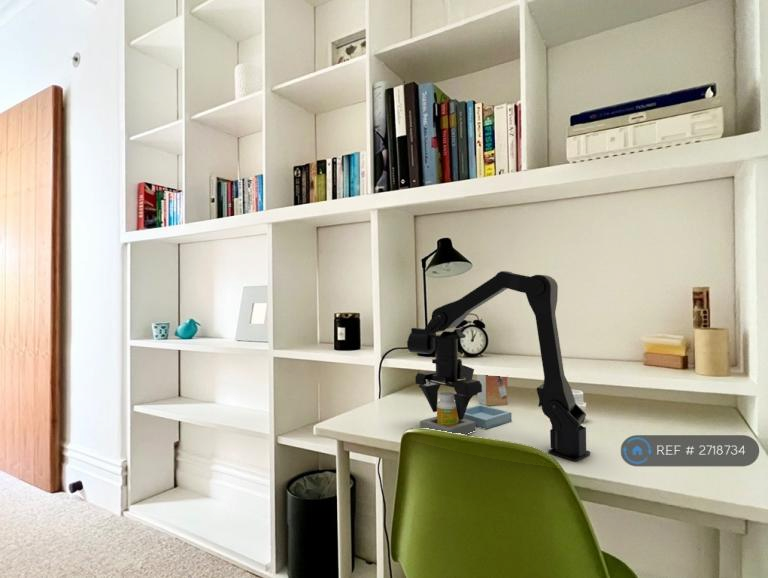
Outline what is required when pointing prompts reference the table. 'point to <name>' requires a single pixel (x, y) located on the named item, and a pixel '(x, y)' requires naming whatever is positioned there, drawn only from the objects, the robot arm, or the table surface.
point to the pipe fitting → (579, 398)
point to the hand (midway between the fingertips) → (447, 415)
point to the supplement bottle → (447, 410)
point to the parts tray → (487, 416)
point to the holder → (461, 427)
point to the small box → (493, 390)
